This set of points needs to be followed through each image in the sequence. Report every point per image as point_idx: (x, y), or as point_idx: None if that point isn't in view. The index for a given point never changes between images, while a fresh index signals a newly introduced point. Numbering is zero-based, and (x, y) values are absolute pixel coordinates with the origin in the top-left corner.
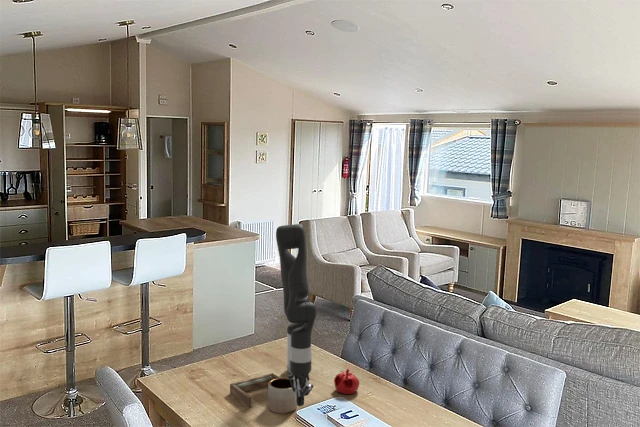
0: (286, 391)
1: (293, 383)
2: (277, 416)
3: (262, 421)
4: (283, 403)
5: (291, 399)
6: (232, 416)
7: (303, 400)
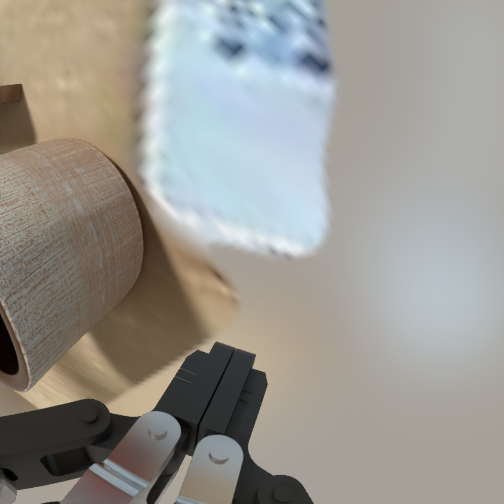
0: (44, 361)
1: (48, 478)
2: (142, 316)
3: (147, 379)
4: (98, 318)
5: (91, 283)
6: (73, 383)
7: (256, 414)
